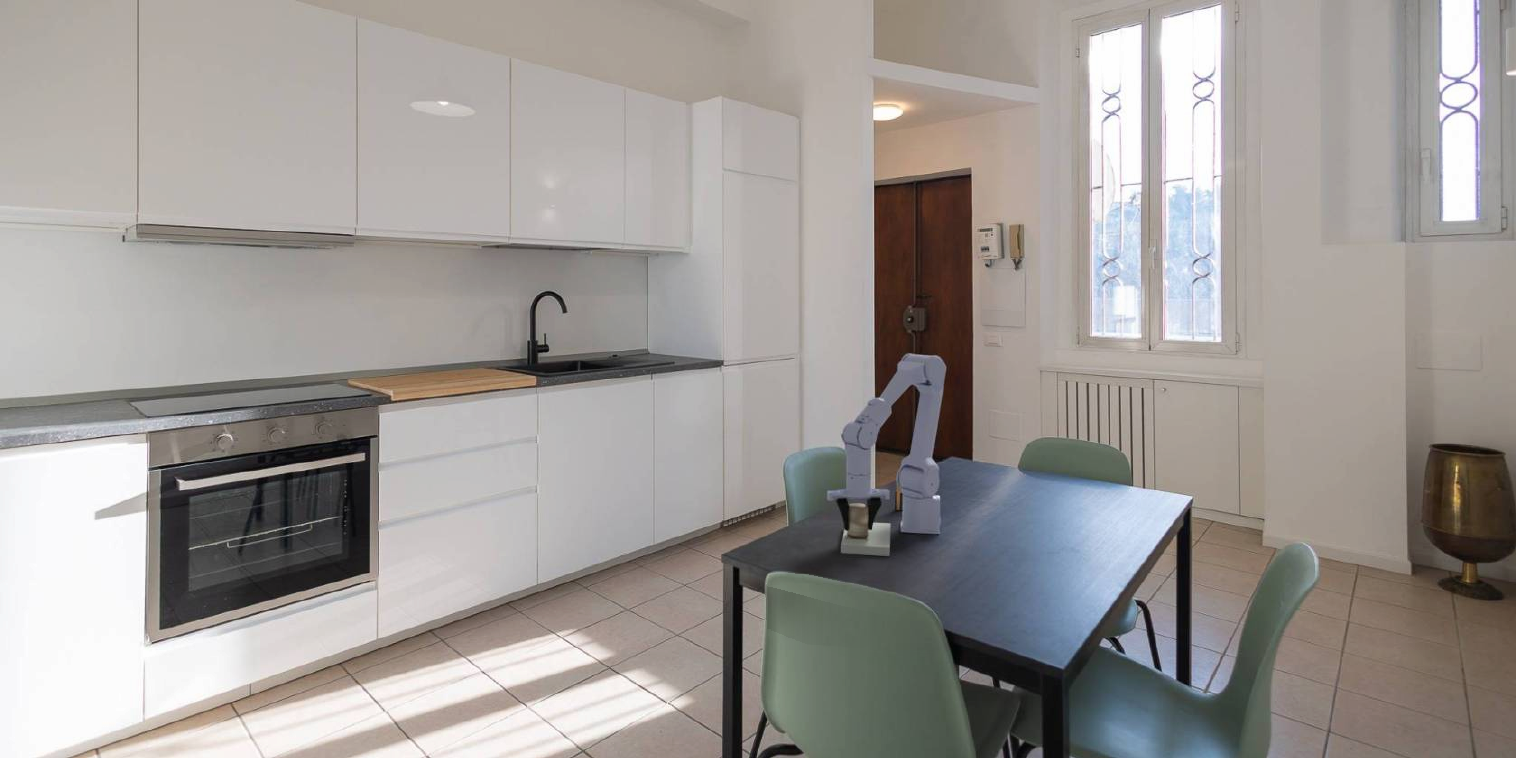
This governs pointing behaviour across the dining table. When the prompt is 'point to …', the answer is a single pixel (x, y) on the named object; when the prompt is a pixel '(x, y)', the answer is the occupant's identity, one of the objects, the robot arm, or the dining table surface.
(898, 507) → the ammunition clip
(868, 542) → the board
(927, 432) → the robot arm
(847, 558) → the dining table surface
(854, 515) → the peg
